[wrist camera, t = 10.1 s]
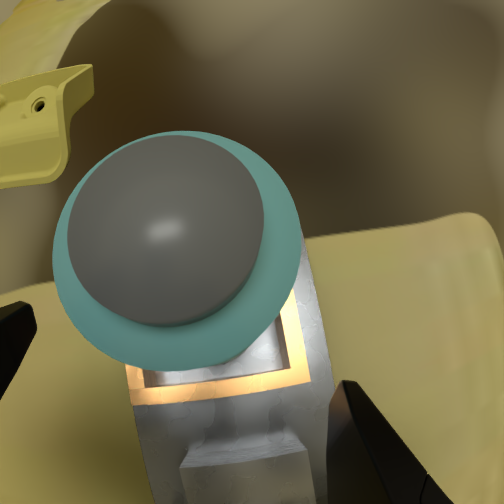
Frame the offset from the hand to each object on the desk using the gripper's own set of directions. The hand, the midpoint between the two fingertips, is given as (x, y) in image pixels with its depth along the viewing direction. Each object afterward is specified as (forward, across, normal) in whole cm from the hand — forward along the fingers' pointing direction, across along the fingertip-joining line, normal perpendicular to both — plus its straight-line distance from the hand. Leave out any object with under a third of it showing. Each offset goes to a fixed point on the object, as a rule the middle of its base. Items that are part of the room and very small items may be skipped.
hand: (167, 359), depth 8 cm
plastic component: (+18, +24, -2) cm, 30 cm away
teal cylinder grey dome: (+8, 0, +4) cm, 9 cm away
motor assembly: (+5, -3, +10) cm, 12 cm away
